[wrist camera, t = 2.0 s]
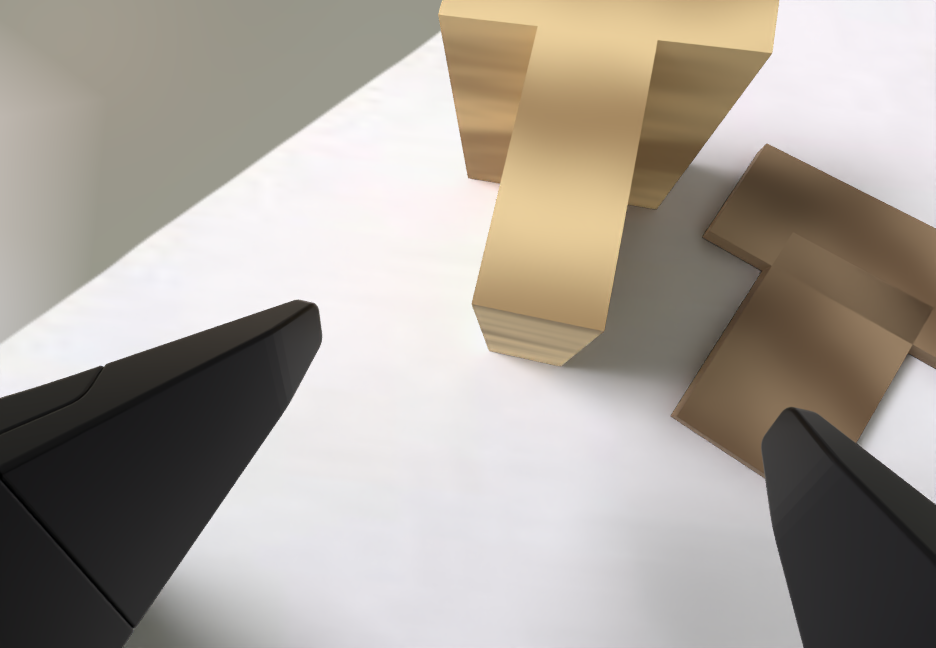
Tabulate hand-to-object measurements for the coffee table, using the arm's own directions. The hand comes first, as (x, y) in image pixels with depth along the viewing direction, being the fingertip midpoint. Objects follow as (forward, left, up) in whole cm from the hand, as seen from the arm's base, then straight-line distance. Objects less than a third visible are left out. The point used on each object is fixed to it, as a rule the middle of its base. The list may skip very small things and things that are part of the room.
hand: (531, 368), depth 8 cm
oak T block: (+8, +3, -13) cm, 16 cm away
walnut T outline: (+11, -10, -13) cm, 20 cm away
